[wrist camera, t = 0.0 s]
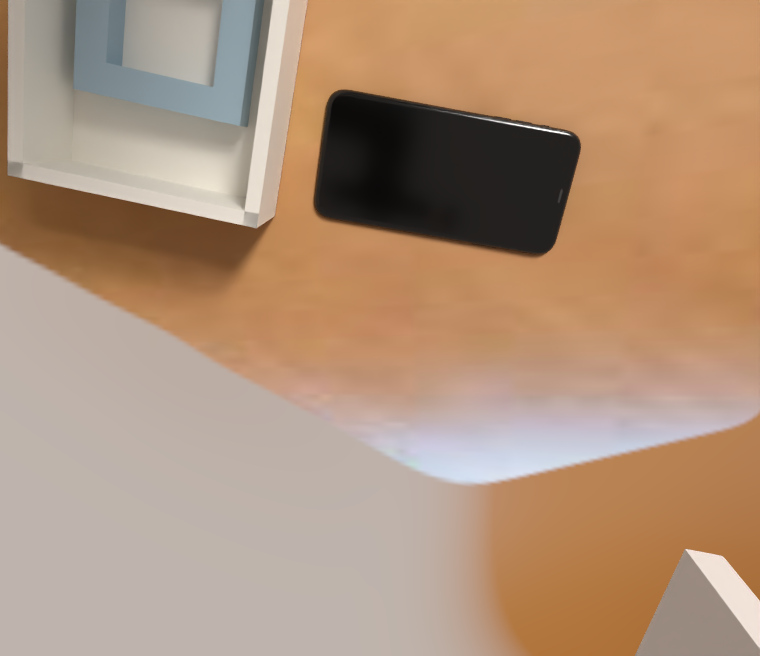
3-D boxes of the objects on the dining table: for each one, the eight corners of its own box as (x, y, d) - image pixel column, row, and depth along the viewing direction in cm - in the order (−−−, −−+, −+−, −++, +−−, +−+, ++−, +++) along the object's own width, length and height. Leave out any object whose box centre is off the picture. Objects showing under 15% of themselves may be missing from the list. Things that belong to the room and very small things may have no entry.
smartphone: (312, 214, 37) (549, 256, 37) (311, 216, 36) (552, 258, 37) (329, 86, 34) (582, 133, 35) (328, 84, 33) (587, 132, 34)
